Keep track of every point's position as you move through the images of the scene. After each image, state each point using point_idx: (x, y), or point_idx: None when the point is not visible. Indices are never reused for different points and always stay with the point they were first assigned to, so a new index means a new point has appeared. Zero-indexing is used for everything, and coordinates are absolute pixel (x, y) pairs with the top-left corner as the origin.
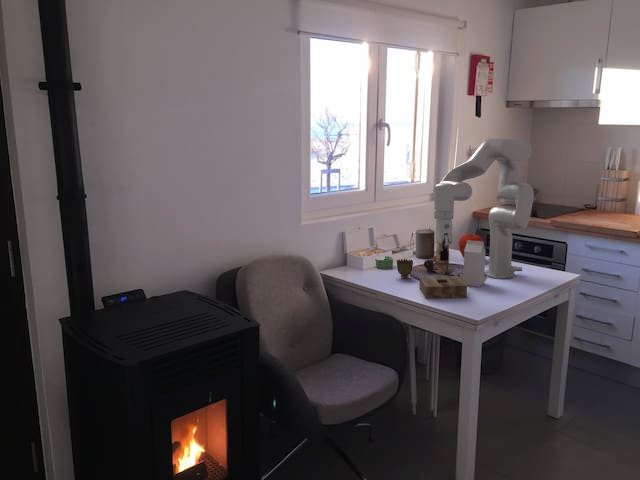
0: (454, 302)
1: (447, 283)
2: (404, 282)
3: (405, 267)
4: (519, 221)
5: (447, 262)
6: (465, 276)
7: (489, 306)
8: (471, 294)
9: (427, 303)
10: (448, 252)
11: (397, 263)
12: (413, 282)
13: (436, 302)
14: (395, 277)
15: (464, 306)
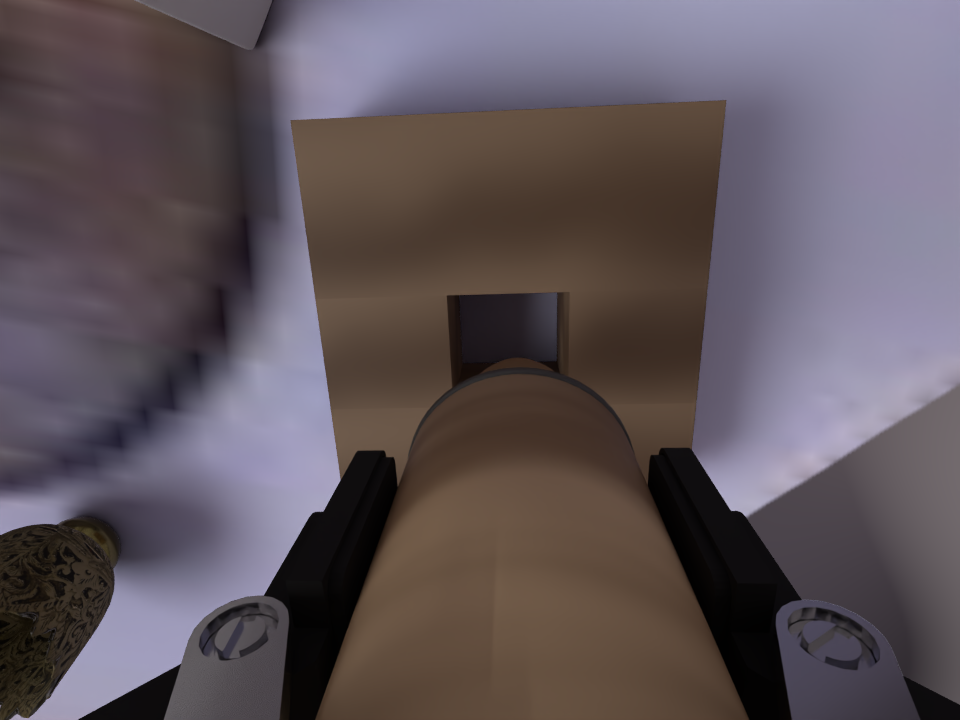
0: (786, 262)
1: (598, 316)
2: (223, 555)
3: (80, 625)
4: None
5: (614, 418)
6: (213, 3)
7: None
8: (578, 33)
9: (761, 476)
10: (757, 552)
11: (27, 704)
12: (215, 494)
13: (752, 408)
14: None
15: (916, 193)
